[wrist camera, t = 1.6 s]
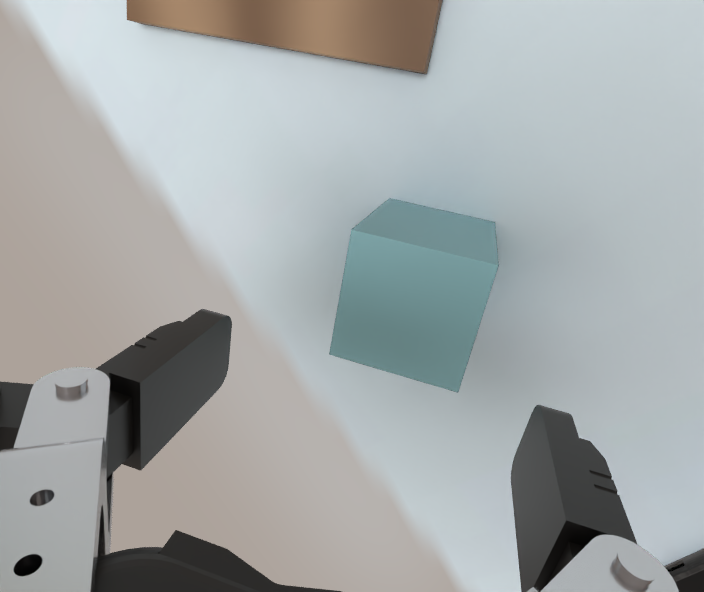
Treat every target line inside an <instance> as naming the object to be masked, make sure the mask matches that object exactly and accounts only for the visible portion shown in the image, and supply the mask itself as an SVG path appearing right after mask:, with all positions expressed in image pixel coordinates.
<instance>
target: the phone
mask: <svg viewBox="0 0 704 592" xmlns="http://www.w3.org/2000/svg"><path fill="white" fill-rule="evenodd" d="M682 563H684V565H685V566H683V567H681V568H678V569H676V570H674V571H671V572H669V573H670V575H671V576H672V578H673V579H674V581H675V583H676V585H677V588H678V591H679V592H704V549H702V550H700V551H697V552H695V553H693V554H691V555H688V556H686V557H684V558H682V559H679V560H677V561H675V562H673V563H671V564H668V565H666V566H664V567H665V568H666V569H667V571H668V569H670V568H672V567H675V566H677V565H679V564H682Z"/></svg>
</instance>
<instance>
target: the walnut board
mask: <svg viewBox="0 0 704 592" xmlns="http://www.w3.org/2000/svg"><path fill="white" fill-rule="evenodd" d="M442 1H443V0H127V20H130V21H134V22H137V23H141V24H146V25H152V26H157V27H163V28H169V29H174V30H180V31H185V32H191V33H197V34H202V35H208V36H214V37H219V38H225V39H231V40H236V41H242V42H248V43H253V44H259V45H265V46H270V47H276V48H281V49H287V50H293V51H298V52H304V53H310V54H315V55H321V56H327V57H332V58H338V59H344V60H349V61H355V62H360V63H366V64H372V65H377V66H383V67H389V68H394V69H400V70H406V71H411V72H417V73H423V74H427V71H428V66H429V61H430V57H431V52H432V47H433V43H434V38H435V33H436V29H437V24H438V19H439V15H440V10H441V5H442Z"/></svg>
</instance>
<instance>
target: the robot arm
mask: <svg viewBox="0 0 704 592" xmlns="http://www.w3.org/2000/svg"><path fill="white" fill-rule="evenodd" d="M231 328H232V322H231V318H230V317H229V316H226V315H223V314H219V313H216V312H212V311H208V310H205V309H201V310H199V311H198V312H196V313H195V314H194V315H192V316H191V317H189V318H188V319H186V320H185V321H183V322H181V321H177V322H174V323H170V324H167V325H164V326H161V327H159V328H157V329H156V330H154V331H153V332H151V333H150V334H148V335H147V336H146V338H142V339H140V340H139V341H138V342H136V343H135V345H134V346H133V345H131V346H130V347H128V348H127V349H125V350H124V351H122V352H121V353H119V354H118V355H116V356H115V357H113V358H111V359H110V360H108V361H107V362H105V363H104V364H102V365H101V366H99V367H98V368H96V369H92V368H85V367H75V368H67V369H62V370H58V371H55V372H52V373H50V374H47V375H45V376H44V377H42V378H40V379H39V380H38V381H37V382H36V383H35V384H22V383H9V382H0V592H341V591H333V590H323V589H313V588H304V587H295V586H285V585H279V584H276V583H274V582H272V581H271V580H269V579H268V578H267V577H265V576H264V575H262V574H261V573H259V572H258V571H256V570H255V569H254V568H252V567H251V566H250V565H248V564H247V563H246V562H244V561H243V560H242V559H240V558H238V557H237V556H236V555H235V554H233V553H232V552H230V551H229V550H228V549H225V548H223V547H220V546H217V545H215V544H211V543H209V542H207V541H204V540H201V539H198V538H196V537H193V536H191V535H188V534H185V533H182V532H180V531H177V530H176V531H175V532H174V533H173V535H172V536H171V537H170V539H169V540H168V542H167V543H166V544H165V546H164V547H163V548H161V547H142V548H134V549H127V550H122V551H118V552H114V553H110V545H111V524H112V502H113V472H114V471H115V470H116V469H117V468H118V467H119V466H120V465H121V464H124V465H127V466H129V467H132V468H135V469H138V470H142V469H143V468H144V467H145V465H146V464H148V462H149V461H150V460H151V459H152V458H153V457H154V456H155V455H156V454H157V453H158V452H159V451H160V450H161V449H162V448H163V447H164V446H165V445H166V444H167V443H168V442H169V440H170V439H171V438H172V437H173V436H174V435H175V434H176V433H177V432H178V431H179V430H180V429H181V428H182V427H183V426H184V425H185V424H186V423H187V422H188V421H189V420H190V419H191V417H192V416H193V415H194V414H195V413H196V412H197V411H198V410H199V409H200V408H201V407H202V406H203V405H204V404H205V403H206V402H207V401H208V400H209V399H210V397H212V396H213V394H214V393H215V392H216V391H217V390H218V389H219V388H220V387H221V385H222V384H223V382H224V379H225V377H226V374H227V371H228V364H229V352H230V341H231ZM611 477H612V476H611V473H610V471H609V468H608V465H607V463H606V460H605V458H604V457H603V456H602V455H601V454H600V452H599V451H598V450H597V449H596V448H595V447H594V445H593V444H592V443H591V442H590V441H587V440H584V439H580V438H579V436H578V433H577V430H576V427H575V424H574V421H573V418H572V416H571V414H569V413H565V412H562V411H558V410H555V409H551V408H548V407H544V406H541V405H537V406H536V407H535V408H534V410H533V412H532V414H531V417H530V419H529V422H528V424H527V427H526V429H525V432H524V434H523V437H522V439H521V442H520V444H519V447H518V449H517V452H516V454H515V457H514V461H513V465H512V471H511V486H512V496H513V507H514V517H515V528H516V538H517V549H518V559H519V570H520V580H521V591H522V592H679V591H678V588H677V585H676V583H675V581H674V579H673V578H672V576H671V575H670V573H669V572H668V571H667V569H666V568H665V567H664V566H663V565H662V564H661V563H660V562H659V561H658V560H657V559H656V558H655V557H654V556H653V555H652V554H650V553H649V552H648V551H646V550H645V549H643V548H642V547H641V546H639V545H637V542H636V539H635V537H634V534H633V531H632V529H631V526H630V523H629V521H628V518H627V516H626V513H625V510H624V508H623V505H622V502H621V500H620V497H619V495H617V489H616V486H615V484H614V481H613V480H611Z"/></svg>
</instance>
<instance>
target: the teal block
mask: <svg viewBox="0 0 704 592" xmlns="http://www.w3.org/2000/svg"><path fill="white" fill-rule="evenodd" d="M498 266H499V265H498V253H497V242H496V231H495V222H492V221H487V220H483V219H479V218H474V217H470V216H465V215H461V214H457V213H452V212H448V211H443V210H439V209H435V208H430V207H426V206H422V205H417V204H413V203H408V202H404V201H400V200H395V199H391V198H389V199H388V200H387V201H386V202H384V203H383V204H382V205H381V206H379V207H378V208H377V209H376V210H375V211H373V212H372V213H371V214H370V215H369V216H367V217H366V218H365V219H364V220H363V221H361V222H360V223H359V224H358V225H356V226H355V227H354V228H353V229H352V230H351V235H350V241H349V247H348V252H347V258H346V263H345V269H344V275H343V280H342V286H341V291H340V297H339V303H338V308H337V314H336V319H335V325H334V331H333V336H332V342H331V347H330V353H329V354H330V355H333V356H336V357H340V358H343V359H346V360H350V361H353V362H357V363H360V364H363V365H367V366H370V367H373V368H377V369H380V370H384V371H387V372H390V373H394V374H397V375H400V376H404V377H407V378H411V379H414V380H417V381H421V382H424V383H427V384H431V385H434V386H438V387H441V388H444V389H448V390H451V391H454V392H458V391H459V388H460V385H461V382H462V379H463V376H464V373H465V369H466V366H467V363H468V360H469V357H470V354H471V351H472V347H473V344H474V341H475V338H476V335H477V332H478V329H479V325H480V322H481V319H482V316H483V313H484V310H485V307H486V303H487V300H488V297H489V294H490V291H491V288H492V285H493V281H494V278H495V275H496V272H497V269H498Z"/></svg>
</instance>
